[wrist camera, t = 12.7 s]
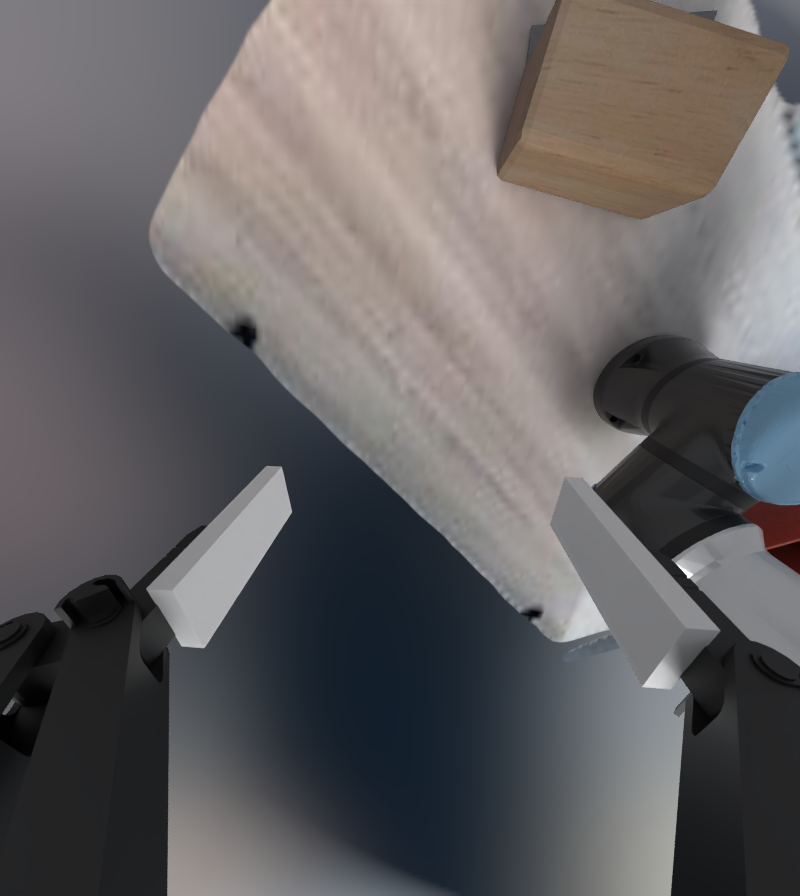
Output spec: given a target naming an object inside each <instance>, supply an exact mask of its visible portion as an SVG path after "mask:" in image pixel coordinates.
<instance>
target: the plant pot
mask: <svg viewBox="0 0 800 896" xmlns="http://www.w3.org/2000/svg"><path fill="white" fill-rule="evenodd" d="M742 516H743V517H745V518H746V519H748V520H750V521H751V522H753V523H754V524H756V525H757V526H759V527H760V528H761V529H762V530H763V536H764V543H765V548H766V550H767V551H768V552H769V554H771V555H772V556H773V557H775V558H776V559H778V560H779V561H781V562H782V563H784V564H785V565H786V566H788V567H789V568H791V569H792V570H794V571H795V572H797V573H798V574H799V575H800V504H798V505H777V504H772V503H766V502H762V501H760V502H758V503H757V504H756V505H754V506H753V507H751V508H750V509H748V510H747V511H745V512H744V513H743V514H742Z"/></svg>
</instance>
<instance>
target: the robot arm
mask: <svg viewBox="0 0 800 896" xmlns="http://www.w3.org/2000/svg"><path fill="white" fill-rule="evenodd" d="M594 404H595V408H596V411H597V413H598V414H599V416H600V417H601V418H602V419H603V420H604V421H605V422H606V423H608V424H609V425H611V426H612V427H614V428H616V429H618V430H620V431H623V432H626V433H632V434H638V435H644V436H648V437H647V438H646V439H645V440H644V441H643V442H642V443H641V444H639V445H638V446H637V447H636V448H635V449H634V450H633V451H632V452H631V453H629V454H628V455H627V456H626V457H625V458H624V459H623V460H622V461H621V462H620V463H619V464H618V465H617V466H616V467H615V468H613V469H612V470H611V471H610V472H609V473H608V474H607V475H606V476H605V477H604V478H603V479H602V480H601V481H600V482H598V483H597V484H594V485H593V486H592V487H590V486H589V485H588V484H587V482H586V481H585V480H584V479H583V478H568V477H565V478H564V481H563V484H562V488H561V491H560V494H559V498H558V501H557V504H556V507H555V511H554V514H553V517H552V520H551V524H550V525H551V527H552V529H553V531H554V532H555V534H556V536H557V538H558V539H559V541H560V543H561V545H562V546H563V548H564V550H565V552H566V553H567V555H568V557H569V559H570V561H571V562H572V564H573V566H574V568H575V569H576V571H577V573H578V575H579V576H580V578H581V580H582V582H583V583H584V585H585V587H586V589H587V591H588V592H589V594H590V596H591V598H592V599H593V601H594V603H595V605H596V606H597V608H598V610H599V612H600V613H601V615H602V617H603V619H604V621H605V622H606V624H607V626H608V628H609V629H610V631H611V633H612V635H613V636H614V638H615V640H616V642H617V643H618V645H619V647H620V649H621V651H622V652H623V654H624V656H625V657H626V659H627V661H628V663H629V665H630V666H631V668H632V670H633V672H634V673H635V675H636V677H637V679H638V680H639V682H640V684H641V686H642V687H650V688H661V689H672V688H673V686H674V685H675V684H676V683H677V682H678V680H679V679H680V678H682V680H683V681H684V683H685V684H686V686H687V687H688V689H689V690H690V693H689V694H688V695H687V696H686V697H685V699H684V700H683V701H682V702H681V703H680V704H679V705H678V706H677V707H676V709H675V711H674V714H676V715H677V716H678V717H679V716H680V715H681V714H682V713H683V712H684V711H685V718H684V730H683V744H682V757H681V771H680V783H679V797H678V809H677V823H676V835H675V849H674V863H673V875H672V888H671V896H800V575H799V574H798V573H797V572H795V571H794V570H792V569H791V568H789V567H788V566H786V565H785V564H784V563H782V562H781V561H779V560H778V559H776V558H775V557H773V556H772V555H771V554H769V552H768V551H767V550H766V548H765V543H764V536H763V530H762V529H761V528H760V527H759V526H757V525H756V524H754V523H753V522H751V521H750V520H748V519H746V518H745V517H743V516H742V514H743V513H744V512H745V511H747V510H748V509H750V508H751V507H753V506H754V505H756V504H757V503H758V502H760V501H762V502H766V503H772V504H777V505H798V504H800V372H789V371H783V370H778V369H773V368H767V367H762V366H756V365H751V364H745V363H740V362H735V361H729V360H724V359H719V358H718V357H717V356H715V355H714V354H712V353H711V352H710V351H708V350H707V349H706V348H704V347H703V346H702V345H700V344H699V343H697V342H695V341H693V340H690V339H687V338H682V337H676V336H665V335H664V336H654V337H650V338H646V339H643V340H641V341H638V342H636V343H634V344H632V345H630V346H629V347H627V348H626V349H624V350H623V351H621V352H620V353H619V354H618V355H616V356H615V357H614V358H613V359H612V360H611V361H610V362H609V364H608V365H607V366H606V367H605V369H604V370H603V372H602V373H601V375H600V377H599V379H598V382H597V384H596V388H595V392H594ZM291 512H292V510H291V506H290V501H289V497H288V492H287V488H286V483H285V479H284V475H283V470H282V467H273V466H272V467H271V466H266V467H265V468H264V469H263V470H262V471H261V472H260V473H259V475H257V476H256V477H255V478H254V479H253V480H252V482H250V483H249V485H248V486H247V487H246V488H245V489H244V490H243V491H242V492H241V493H240V494H239V495H238V496H237V497H236V498H235V499H234V500H233V501H232V502H231V503H230V504H229V505H228V506H227V507H226V508H225V509H224V510H223V511H222V512H221V513H220V514H219V515H218V516H217V517H216V518H215V519H214V520H213V521H212V522H211V523H210V524H209V525H208V526H200V527H199V528H197V529H196V530H194V531H192V532H191V533H189V534H187V535H186V536H185V537H184V538H183V539H182V540H181V541H180V542H179V543H178V544H177V545H176V548H173V549H172V550H171V551H170V552H169V553H168V554H167V555H166V557H164V558H163V559H162V560H160V561H159V562H158V563H157V564H156V565H155V566H154V567H153V568H152V569H151V570H150V571H149V572H148V573H147V574H146V575H145V576H144V577H143V578H142V579H141V580H140V581H139V582H138V583H137V584H136V585H135V586H134V587H133V588H132V589H131V590H129V588H128V587H127V585H126V584H125V582H124V580H123V579H122V578H121V577H120V576H117V575H105V576H101V577H98V578H94V579H92V580H90V581H88V582H86V583H83V584H81V585H80V586H79V587H77V588H75V589H74V590H72V591H70V592H69V593H68V594H67V595H66V596H65V597H63V599H61V600H60V601H59V603H58V604H57V606H56V607H55V609H54V611H55V612H56V613H57V614H58V615H59V616H60V618H61V619H62V621H58V622H53V623H52V622H51V621H50V620H49V619H48V618H47V617H46V616H45V615H44V614H42V613H38V612H36V613H29V614H24V615H22V616H19V617H16V618H13V619H11V620H9V621H8V622H5V623H3V624H1V625H0V896H167V865H168V863H167V859H168V761H169V760H168V759H169V659H170V658H169V656H170V653H169V650H168V647H167V645H168V643H169V642H170V641H171V640H172V638H173V637H174V636H176V638H177V639H178V641H179V643H180V644H181V646H186V647H197V648H205V646H206V645H207V643H208V642H209V640H210V638H211V637H212V635H213V634H214V632H215V630H216V629H217V628H218V626H219V625H220V623H221V621H222V620H223V618H224V617H225V615H226V614H227V612H228V610H229V609H230V607H231V606H232V604H233V603H234V601H235V599H236V598H237V596H238V595H239V593H240V592H241V590H242V589H243V587H244V586H245V584H246V583H247V581H248V579H249V578H250V576H251V575H252V573H253V572H254V570H255V569H256V567H257V565H258V564H259V562H260V561H261V559H262V558H263V556H264V554H265V553H266V551H267V550H268V548H269V546H270V545H271V544H272V542H273V540H274V539H275V537H276V536H277V534H278V533H279V531H280V530H281V528H282V526H283V525H284V523H285V522H286V520H287V519H288V517H289V516H290V514H291ZM11 699H13V700H14V701H15V703H14V705H13V706H12V708H11V709H10V711H9V712H8V713H7V714H6V715H3V714H2V713H3V711H4V710H5V708H6V707H7V705H8V704H9V702H10V701H11Z"/></svg>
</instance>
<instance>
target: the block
mask: <svg viewBox="0 0 800 896" xmlns="http://www.w3.org/2000/svg"><path fill="white" fill-rule="evenodd" d="M789 52H790V49H789V47H788V46H787V44H784V43H780V42H777V41H774V40H771V39H768V38H765V37H762V36H759V35H756V34H753V33H750V32H746V31H743V30H740V29H737V28H734V27H731V26H728V25H725V24H721V23H718V22H715V21H712V20H709V19H706V18H703V17H700V16H696V15H693V14H690V13H687V12H684V11H681V10H678V9H675V8H671V7H668V6H665V5H662V4H659V3H656V2H653V1H650V0H556V2H555V4H554V6H553V8H552V11H551V13H550V15H549V17H548V20H547V22H546V24H545V26H544V28H543V31H542V33H541V35H540V37H539V39H538V42H537V44H536V46H535V48H534V50H533V53H532V55H531V57H530V59H529V62H528V64H527V66H526V68H525V72H524V75H523V79H522V82H521V85H520V89H519V92H518V96H517V99H516V103H515V106H514V110H513V113H512V117H511V120H510V124H509V127H508V131H507V134H506V138H505V141H504V145H503V148H502V152H501V155H500V159H499V162H498V166H497V176H498V177H499V178H500V179H501V180H503V181H506V182H510V183H513V184H517V185H520V186H524V187H527V188H531V189H535V190H538V191H542V192H545V193H549V194H552V195H556V196H559V197H563V198H567V199H570V200H574V201H577V202H581V203H584V204H588V205H592V206H595V207H599V208H602V209H606V210H609V211H613V212H616V213H620V214H624V215H627V216H631V217H634V218H638V219H643V218H647V217H650V216H653V215H656V214H658V213H661V212H664V211H666V210H669V209H672V208H675V207H677V206H680V205H683V204H685V203H688V202H691V201H694V200H696V199H699V198H702V197H704V196H706V195H707V194H708V193H709V192H710V191H711V190H712V189H713V188H714V187H715V185H716V184H717V182H718V180H719V179H720V177H721V175H722V173H723V172H724V170H725V168H726V166H727V165H728V163H729V161H730V159H731V158H732V156H733V154H734V152H735V151H736V149H737V147H738V145H739V144H740V142H741V140H742V138H743V137H744V135H745V133H746V131H747V130H748V128H749V126H750V124H751V123H752V121H753V119H754V117H755V116H756V114H757V112H758V110H759V109H760V107H761V105H762V103H763V102H764V100H765V98H766V96H767V95H768V93H769V91H770V89H771V88H772V86H773V84H774V82H775V81H776V79H777V77H778V75H779V73H780V72H781V70H782V68H783V67H784V65H785V63H786V61H787V59H788V56H789Z"/></svg>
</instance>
